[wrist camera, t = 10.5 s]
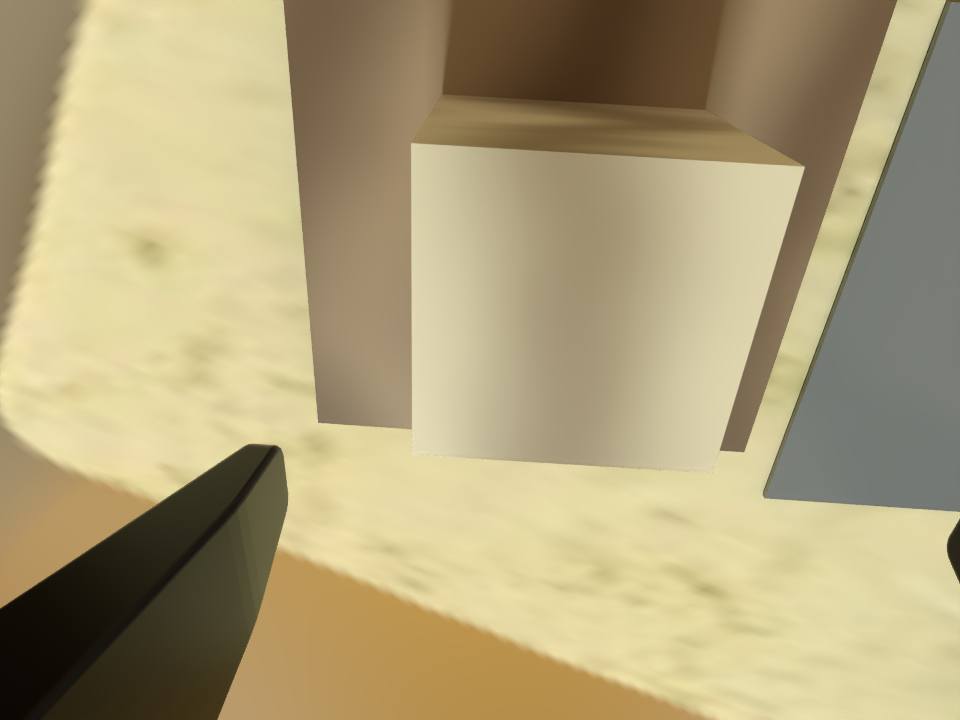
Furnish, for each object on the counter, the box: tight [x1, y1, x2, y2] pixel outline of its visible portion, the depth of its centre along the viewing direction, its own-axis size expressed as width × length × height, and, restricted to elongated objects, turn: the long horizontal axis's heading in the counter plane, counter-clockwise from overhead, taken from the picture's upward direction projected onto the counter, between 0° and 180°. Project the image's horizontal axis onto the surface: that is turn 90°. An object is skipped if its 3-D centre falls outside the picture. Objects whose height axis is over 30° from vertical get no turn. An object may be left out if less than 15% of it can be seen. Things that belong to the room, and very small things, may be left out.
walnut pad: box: [284, 0, 897, 452], centre depth 18 cm, size 14×14×2 cm
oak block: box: [411, 94, 805, 473], centre depth 15 cm, size 6×6×6 cm
